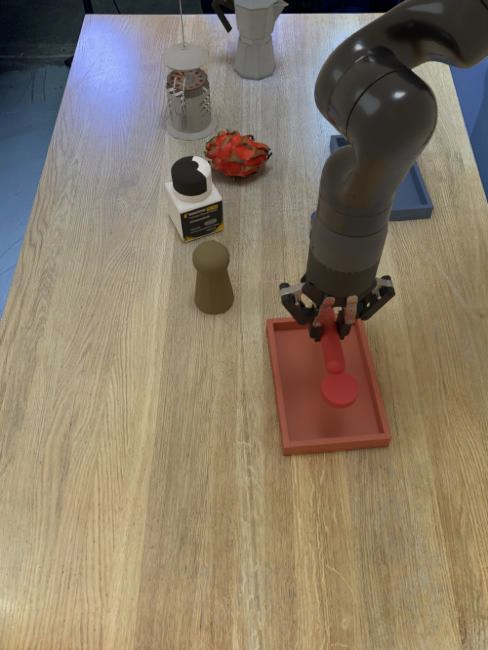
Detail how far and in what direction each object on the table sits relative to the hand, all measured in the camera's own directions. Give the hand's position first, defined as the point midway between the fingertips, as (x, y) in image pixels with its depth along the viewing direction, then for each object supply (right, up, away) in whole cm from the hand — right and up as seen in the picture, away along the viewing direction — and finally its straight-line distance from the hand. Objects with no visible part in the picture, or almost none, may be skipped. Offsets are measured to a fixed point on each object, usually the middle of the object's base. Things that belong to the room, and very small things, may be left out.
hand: (328, 334), depth 76 cm
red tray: (0, -7, +6) cm, 9 cm away
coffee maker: (-10, +55, +49) cm, 74 cm away
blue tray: (+13, +27, +29) cm, 41 cm away
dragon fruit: (-12, +29, +31) cm, 44 cm away
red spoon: (0, -3, -1) cm, 3 cm away
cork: (-15, +5, +15) cm, 22 cm away
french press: (-21, +39, +38) cm, 58 cm away
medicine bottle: (-19, +18, +24) cm, 35 cm away
